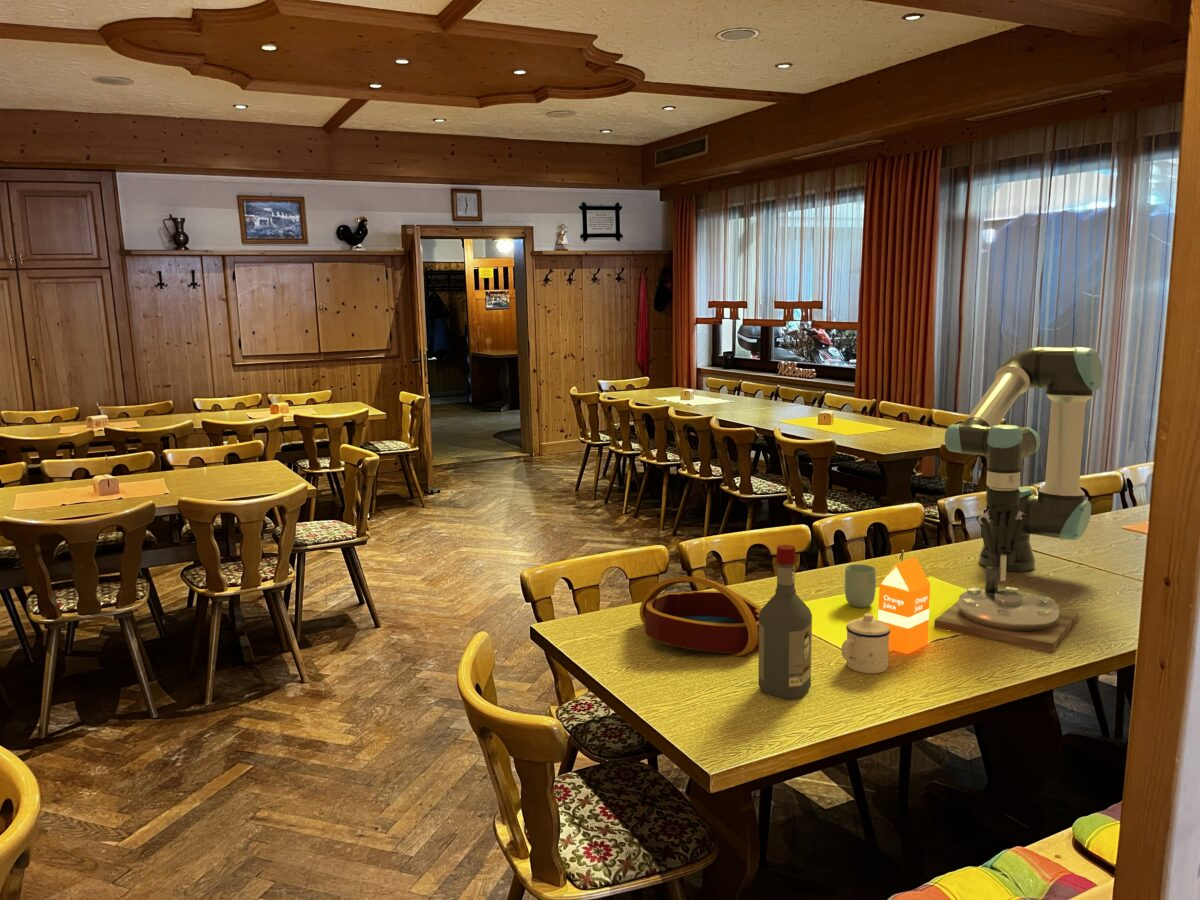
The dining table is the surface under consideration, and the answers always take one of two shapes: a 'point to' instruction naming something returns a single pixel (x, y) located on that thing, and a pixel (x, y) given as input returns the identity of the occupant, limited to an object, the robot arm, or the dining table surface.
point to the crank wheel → (1007, 606)
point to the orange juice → (905, 606)
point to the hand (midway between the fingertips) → (999, 579)
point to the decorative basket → (701, 618)
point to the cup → (860, 585)
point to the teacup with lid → (867, 645)
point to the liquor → (785, 635)
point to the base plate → (1031, 639)
